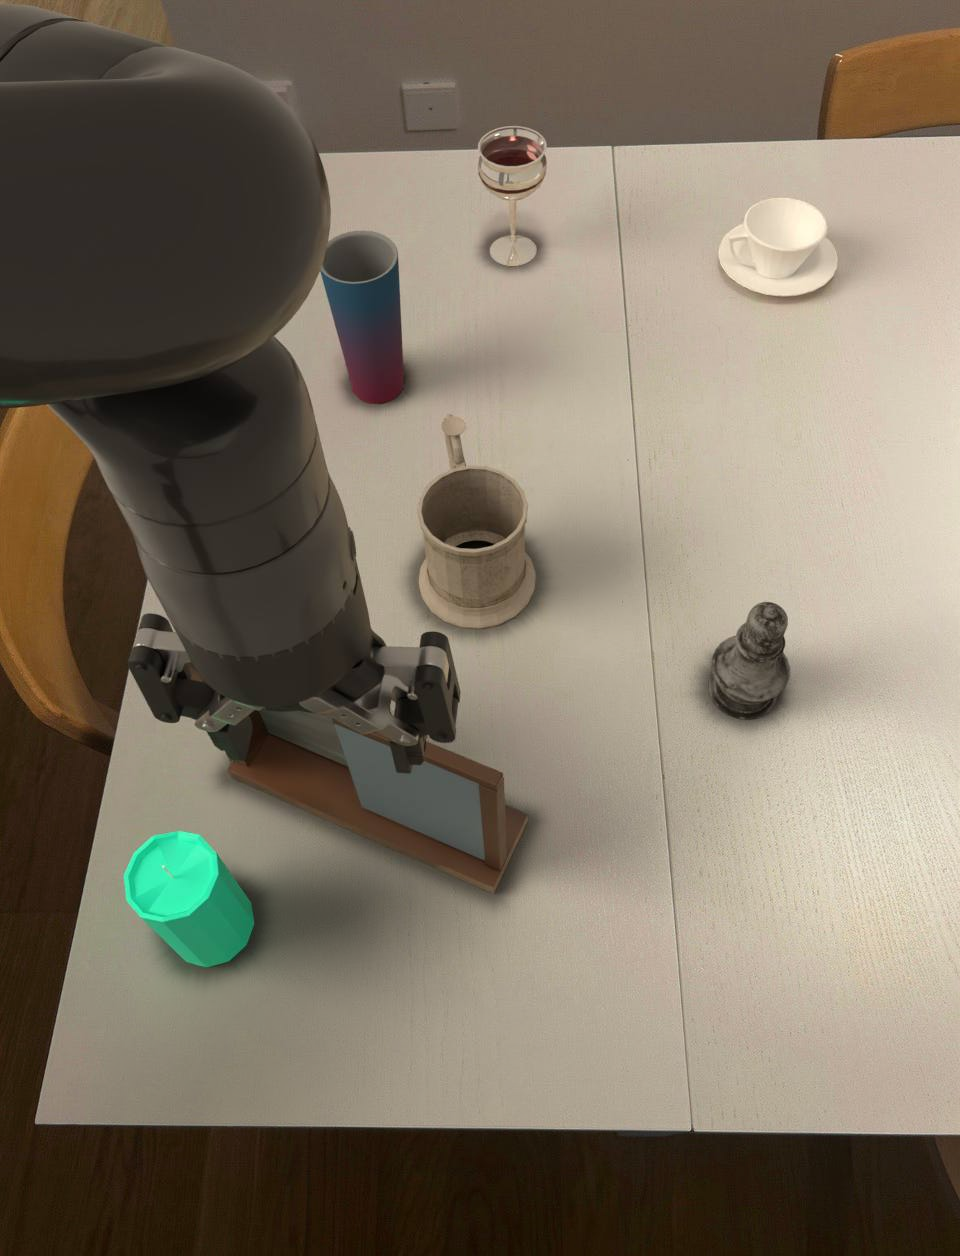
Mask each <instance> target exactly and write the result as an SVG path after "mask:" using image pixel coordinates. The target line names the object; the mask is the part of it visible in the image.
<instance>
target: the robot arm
mask: <svg viewBox="0 0 960 1256" xmlns="http://www.w3.org/2000/svg"><path fill="white" fill-rule="evenodd" d="M331 208H332V207H331V195H330V188H329V183H328V179H327V175H326V170H325V167H324V164H323V161H322V158H321V156H320V153H319V151H318V148H317V146H316V143H315V141H314V139H313V138H312V136H311V134H310V132H309V131H308V129H307V127H306V126H305V124H304V123H303V122H302V120H301V119H300V117H299V116H298V115H297V114H296V112H295V111H294V110H293V108H291V106H290V105H289V104H288V102H286V101H285V100H284V99H283V98H282V97H281V95H279V94H278V93H277V92H276V91H275V90H273V89H272V88H271V87H270V86H268V85H267V84H266V83H264V82H263V81H262V80H260V79H259V78H256V77H255V76H253V75H252V74H251V73H248V72H247V71H245V70H243V69H241V68H238V67H236V66H235V65H232V64H230V63H227V62H225V61H222V60H219V59H217V58H213V57H211V56H206V55H203V54H200V53H197V52H195V51H194V52H193V51H191V50H187V49H183V48H179V47H175V46H172V45H168V44H165V43H162V42H158V41H156V40H151V39H148V38H145V37H142V36H138V35H134V34H131V33H128V32H124V31H122V30H117V29H114V28H111V27H108V26H104V25H100V24H97V23H93V22H90V21H87V20H84V19H81V18H78V17H74V16H71V15H67V14H64V13H61V12H57V11H54V10H50V9H45V8H41V7H38V6H35V5H27V4H21V3H7V2H6V3H3V2H0V410H3V409H5V410H6V409H17V408H19V409H20V408H31V407H38V406H45V405H46V406H47V407H48V408H49V409H50V410H51V411H52V412H53V413H54V414H55V415H56V416H57V417H58V418H59V419H60V420H61V421H62V422H63V423H64V424H65V425H66V426H67V427H68V428H69V429H70V430H71V431H72V433H74V435H76V437H78V439H79V441H81V442H82V443H83V445H85V447H86V448H87V449H88V451H89V452H90V453H91V454H92V456H93V458H94V460H95V463H96V465H97V467H98V470H99V472H100V474H101V476H102V477H103V480H104V482H105V484H106V486H107V488H108V489H109V491H110V493H111V495H112V497H113V500H114V501H115V503H116V505H117V507H118V509H119V511H120V513H121V515H122V516H123V518H124V520H125V522H126V524H127V526H128V528H129V530H130V531H131V534H132V536H133V539H134V542H135V545H136V549H137V553H138V556H139V560H140V562H141V566H142V570H143V571H144V573H145V577H146V579H147V581H148V582H149V584H150V586H151V588H152V590H153V592H154V593H155V595H156V598H157V599H158V601H159V603H160V605H161V607H162V609H163V611H164V612H165V614H166V616H167V618H168V619H167V618H166V617H165V616H163V615H161V614H158V613H151V612H150V613H149V612H148V613H145V614H143V615H142V616H141V618H140V619H141V620H140V623H139V624H138V625H139V626H138V629H137V632H136V636H135V638H134V642H133V645H132V648H131V650H130V655H129V657H128V661H127V668H128V670H129V671H130V673H131V675H132V677H133V679H134V681H135V683H136V685H137V686H138V689H139V690H140V693H141V694H142V696H143V698H144V701H145V702H146V704H147V706H148V708H149V709H150V711H151V713H152V716H153V717H154V718H155V719H157V720H158V721H160V722H163V723H166V724H176V723H179V722H180V720H181V717H183V718H189V719H192V720H194V726H195V728H197V729H198V730H201V731H204V732H206V734H207V735H208V737H209V739H210V741H211V742H212V744H213V746H214V747H216V748H217V749H218V750H219V751H221V752H223V751H224V752H225V755H226V756H227V758H228V759H229V761H233V760H235V761H245V759H246V757H247V752H248V748H249V744H250V739H251V735H252V721H251V719H250V717H249V714H251V713H252V712H253V711H254V710H258V711H260V710H261V709H262V708H264V707H265V708H266V711H280V712H286V711H303V712H308V713H314V714H317V715H321V714H323V715H328V716H330V717H332V718H333V719H335V720H337V721H339V722H341V723H342V724H344V725H346V726H348V727H349V728H351V729H353V730H355V731H357V732H358V733H360V734H363V735H365V734H368V733H372V732H375V731H376V732H377V733H379V734H381V735H383V736H384V737H386V738H388V739H390V743H389V744H390V748H391V752H392V756H393V760H394V764H395V768H396V772H397V773H407V774H411V771H412V765H421V764H422V763H423V762H424V756H425V749H426V742H428V741H427V740H428V738H429V739H431V740H432V741H434V742H436V743H439V744H440V743H442V744H450V743H453V742H454V741H455V740H456V735H457V726H456V725H457V717H458V709H459V703H460V702H461V694H462V692H461V688H460V684H459V678H458V675H457V671H456V666H455V662H454V658H453V653H452V648H451V645H450V639H449V638H448V636H447V635H446V634H444V633H442V632H439V631H433V630H432V631H430V630H429V631H425V632H423V633H422V634H421V635H420V639H419V646H417V647H416V646H392V645H391V646H388V645H387V643H386V642H385V641H384V639H383V638H382V637H381V636H379V634H377V633H376V631H374V630H373V628H372V626H371V620H370V615H369V609H368V604H367V600H366V597H365V592H364V591H365V590H364V587H363V583H362V578H361V574H360V570H359V566H358V562H357V548H356V542H355V541H356V540H355V535H354V531H353V530H352V529H351V527H350V526H349V523H348V519H347V515H346V511H345V508H344V503H343V502H342V500H341V496H340V495H339V492H338V490H337V487H336V485H335V483H334V481H333V479H332V477H331V475H330V473H329V469H328V466H327V465H328V464H327V460H326V458H325V453H324V449H323V446H322V441H321V436H320V432H319V429H318V424H317V421H316V414H315V412H314V408H313V404H312V399H311V396H310V393H309V389H308V386H307V383H306V380H305V378H304V376H303V373H302V371H301V370H300V368H299V366H298V364H297V361H296V360H295V358H294V356H293V355H292V353H291V352H290V351H289V349H288V348H287V347H286V346H285V345H284V344H282V342H281V341H280V340H279V339H278V338H276V335H277V334H278V333H279V332H281V330H282V329H283V328H285V327H286V326H287V324H289V322H290V321H291V320H292V319H293V317H294V316H295V315H296V314H297V313H298V311H299V310H300V308H301V307H302V306H303V304H304V303H305V301H307V298H308V297H309V294H310V293H311V291H312V289H313V288H314V286H315V283H316V282H317V280H318V279H317V278H318V276H319V274H320V273H321V272H320V269H321V266H322V263H323V260H324V256H325V252H326V248H327V243H328V241H329V240H330V231H331V220H332V219H331V218H332V217H331V216H332V209H331ZM172 627H173V628H172ZM188 662H191V664H192V666H193V668H194V669H195V670H196V671H197V672H198V674H199V675H200V676H201V677H202V679H203V680H204V681H205V683H204V682H199V681H195V680H191V676H192V675H191V672H190V670H189V667H188V665H187V663H188ZM361 697H362V701H361V706H360V705H358V704H356V703H355V701H357V700H358V699H359V698H361ZM392 702H394V703H395V704H394V712H393V713H392V710H391V704H392ZM428 736H429V737H428Z"/></svg>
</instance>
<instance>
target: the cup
mask: <svg viewBox="0 0 960 1256" xmlns="http://www.w3.org/2000/svg"><path fill="white" fill-rule="evenodd" d="M319 273H320V275H321V279H322V283H323V287H324V290H325V295H326V298H327V301H328V305H329V309H330V313H331V315H332V316H331V317H332V319H333V324H334V326H335V330H336V335H337V337H338V338H337V339H338V341H339V345H340V348H341V352H342V356H343V360H344V364H345V368H346V371H347V375H348V377H349V381H350V386H351V389H352V392H353V394H354V395H355V396H356V398H358V399H359V400H360V401H362V402H364V403H368V404H374V405H376V404H379V405H380V404H385V403H388V402H391V401H393V400H394V399H396V398H397V397H398V396H399V395H400V394H401V393H402V392H403V390H404V387H405V373H404V370H405V369H404V352H403V351H404V349H403V332H402V331H403V329H402V307H401V305H402V304H401V286H400V265H399V252H398V247H397V246H396V244H395V243H394V242H393V240H392V239H391V238H389V237H388V236H386V235H384V234H382V233H381V232H376V231H372V230H351V231H348V232H344V233H341V234H339V235H336V236H334V237H333V238H331V239H328V243H327V248H326V252H325V256H324V260H323V263H322V266H321V269H320V272H319Z"/></svg>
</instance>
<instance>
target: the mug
mask: <svg viewBox="0 0 960 1256" xmlns="http://www.w3.org/2000/svg"><path fill="white" fill-rule="evenodd" d="M466 429H467V424H466V422H465V420H464V419H462V418H461V417H460V416H456V415H455V416H454V415H453V414H451V413H450V414H449V413H448V414H446V415H445V416H444V418H443V421H442V422H441V430H442V432H443V433H444V439H445V448H446V452H447V459H448V465H449V470H448V471H445V472H443V473H441V474H439V475H437V476H436V477H435V478H434V479H432V481H430V482H429V483H428V484H427V485H426V487H424V490H423V491H422V493H421V495H420V496H419V498H418V505H417V512H416V513H417V518H418V523H419V527H420V530H421V531H422V535H423V544H424V552H425V558H424V560H423V562H422V564H421V566H420V571H419V576H418V587H419V591H420V597H421V599H422V600H423V602H424V603H425V605H426V606H427V608H428V609H429V611H430V612H431V613H432V614H434V615H435V616H436V617H438V618H439V619H441V621H443V622H444V623H447V624H450V625H454V626H456V627H459V628H462V629H475V630H476V629H479V630H481V629H486V628H491V627H497V626H500V625H502V624H504V623H506V622H508V621H510V620H512V619H514V618H515V617H517V616H518V614H520V613H521V612H522V611H523V610H524V609H525V608H526V607H527V606H528V604H529V602H530V601H531V599H532V596H533V594H534V592H535V588H536V579H537V578H536V577H537V574H536V570H535V568H534V564H533V560H532V558H531V557H530V556H529V555H528V553H527V552H526V523H527V521H528V510H529V504H528V500H527V497H526V493H525V491H524V489H523V488H522V487H521V486H520V484H519V483H518V482H517V481H516V479H514V478H513V477H511V476H510V475H508V474H507V473H506V472H503V471H502V470H498V469H496V468H493V467H490V466H485V465H483V466H482V465H467V462H466V459H465V456H464V451H463V444H462V438H461V434H463V433H464V432H465V431H466ZM474 541H476V542H477V541H478V542H480V541H481V542H487V543H490V544H493V545H490V546H484V547H479V548H461V547H458V546H459V545H462V544H463V543H467V542H474Z"/></svg>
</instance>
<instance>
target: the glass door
mask: <svg viewBox="0 0 960 1256" xmlns="http://www.w3.org/2000/svg"><path fill="white" fill-rule="evenodd" d="M332 721H333V723H334V724H335V727H336V730H337V733H338V736H339V739H340V742H341V745H342V748H343V751H344V755H345V758H346V761H347V764H348V767H349V770H350V773H351V776H352V779H353V782H354V785H355V788H356V791H357V794H358V797H359V800H360V803H361V806H362V807H363V808H365V809H367V810H370V811H372V812H374V813H376V814H379V815H381V816H383V817H386V818H388V819H390V820H392V821H395V822H397V823H399V824H402V825H404V826H406V827H408V828H411V829H413V830H415V831H418V832H420V833H422V834H425V835H427V836H429V837H431V838H434V839H436V840H438V841H441V842H443V843H445V844H447V845H450V846H452V847H454V848H457V849H459V850H461V851H463V852H466V853H468V854H470V855H473V856H475V857H477V858H480V859H482V860H484V861H485V864H487V865H489V866H491V867H494V868H496V869H498V870H501V868H502V866H503V864H504V862H505V860H506V857H507V846H506V818H505V805H506V796H505V795H506V794H505V791H506V790H505V777H504V773H503V772H502V771H500V770H497V769H494V768H492V767H490V766H488V765H485V764H483V763H481V762H478V761H475V760H473V759H470V758H469V757H466V756H464V755H461V754H458V753H456V752H453V751H451V750H449V749H446V748H443V747H442V746H440V745H438V744H434V743H432V742H429V741H427V742H426V749H425V756H424V762H423V763H422V764H421V765H412V771H411V774H407V773H397V772H396V768H395V764H394V760H393V756H392V752H391V748H390V744H389V743H390V739H388V738H386V737H384V736H383V735H381V734H379V733H377V732H376V731H375V732H372V733H368V734H365V735H363V734H360V733H358V732H357V731H355V730H353V729H351V728H349V727H348V726H346V725H344V724H342V723H341V722H339V721H337V720H335V719H333V718H332Z"/></svg>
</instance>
